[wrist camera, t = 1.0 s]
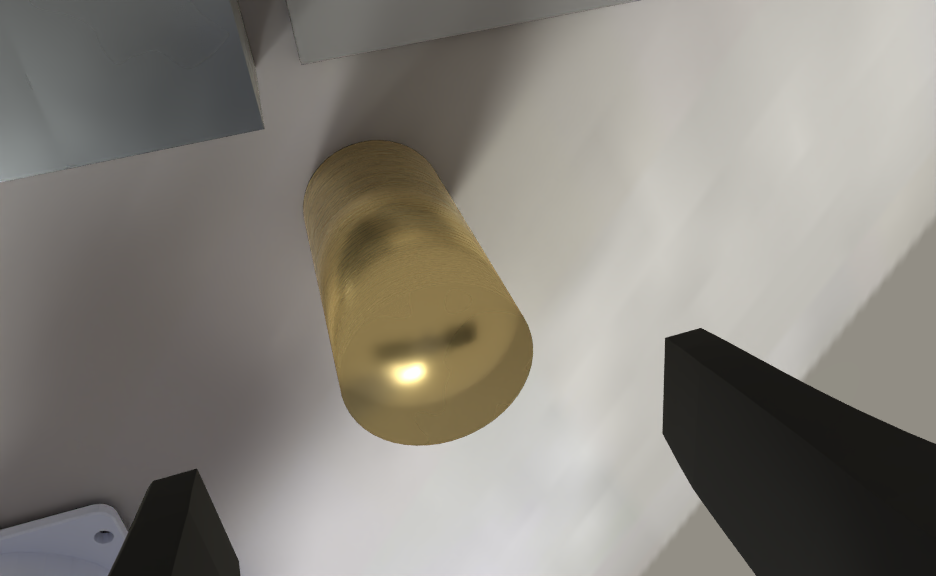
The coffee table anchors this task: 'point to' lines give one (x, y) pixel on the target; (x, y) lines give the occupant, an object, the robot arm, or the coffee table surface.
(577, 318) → the coffee table surface
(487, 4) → the rubber mat
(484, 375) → the gold metal cylinder
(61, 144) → the chuck block
